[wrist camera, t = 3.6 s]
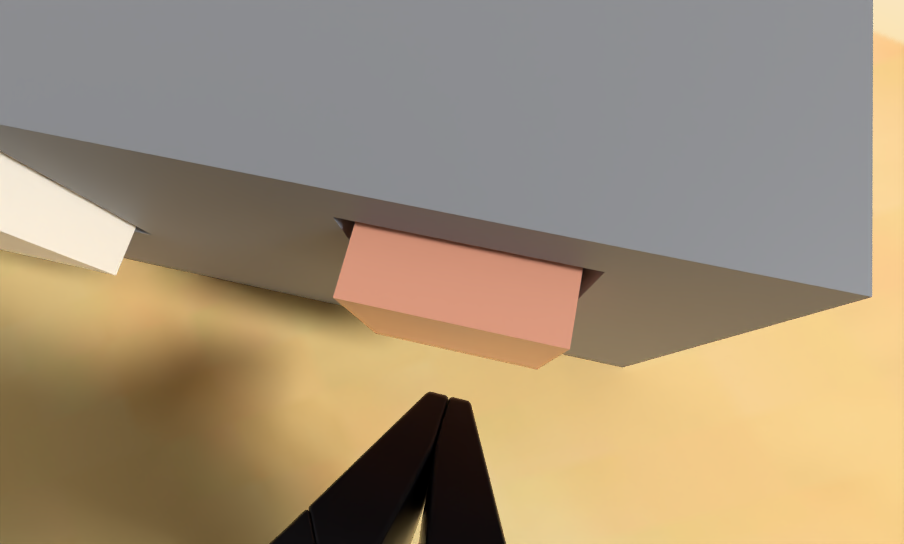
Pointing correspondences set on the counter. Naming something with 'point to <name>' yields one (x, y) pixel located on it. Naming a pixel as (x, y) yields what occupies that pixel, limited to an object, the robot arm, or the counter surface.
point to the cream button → (57, 221)
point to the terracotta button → (459, 295)
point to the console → (473, 143)
